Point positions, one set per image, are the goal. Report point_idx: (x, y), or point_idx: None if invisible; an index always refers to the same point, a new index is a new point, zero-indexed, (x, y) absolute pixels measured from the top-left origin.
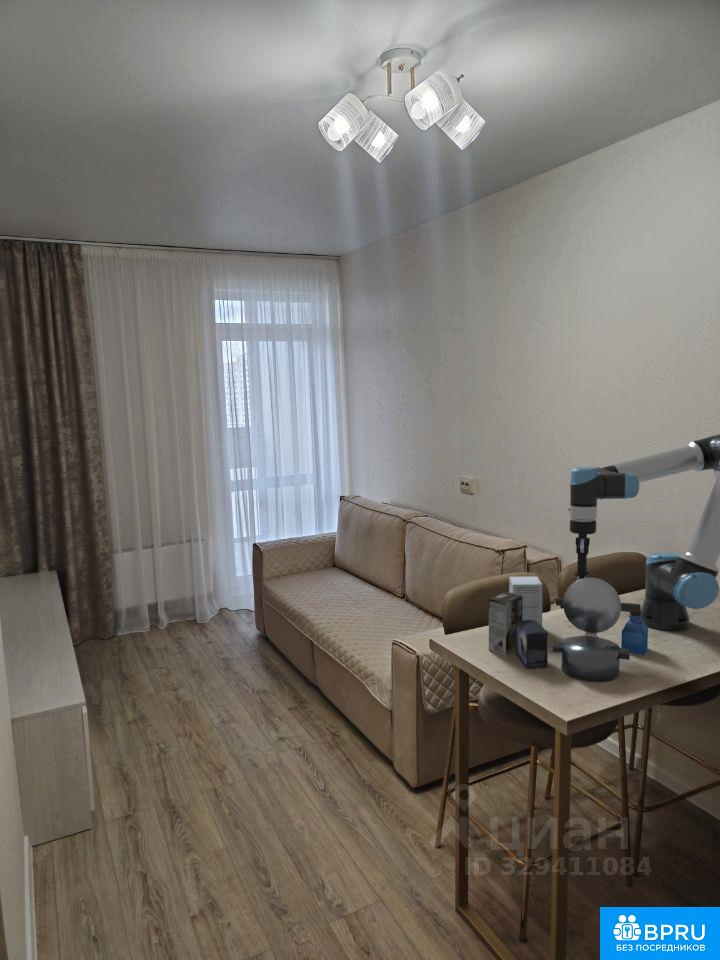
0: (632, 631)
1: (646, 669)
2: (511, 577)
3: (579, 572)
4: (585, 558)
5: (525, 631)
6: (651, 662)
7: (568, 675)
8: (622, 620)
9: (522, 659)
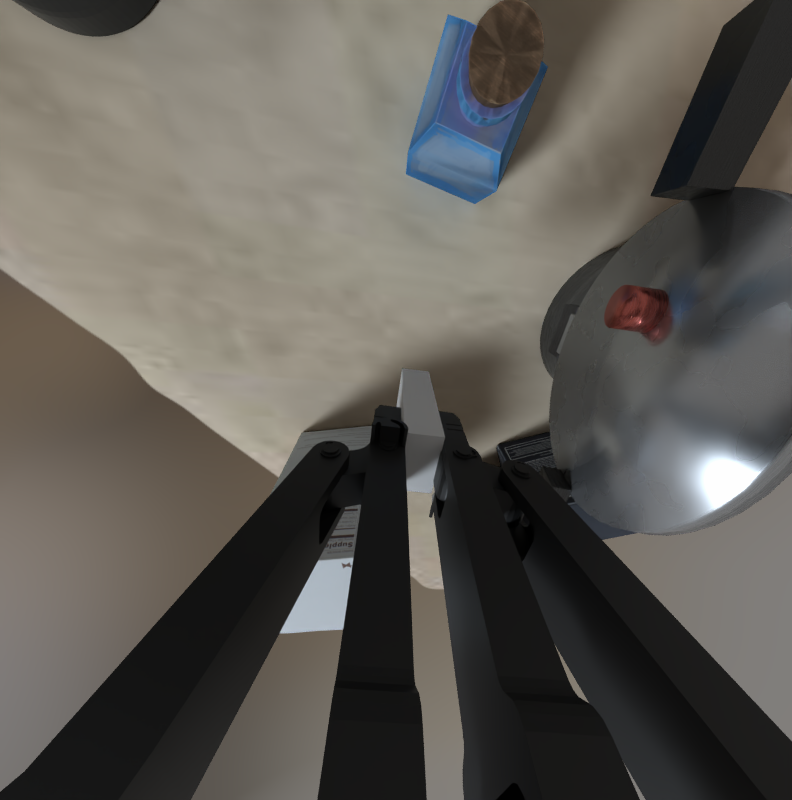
0: (517, 133)
1: (638, 132)
2: (284, 630)
3: (530, 526)
4: (725, 684)
5: (629, 533)
6: (579, 92)
7: None
8: (123, 132)
9: None
